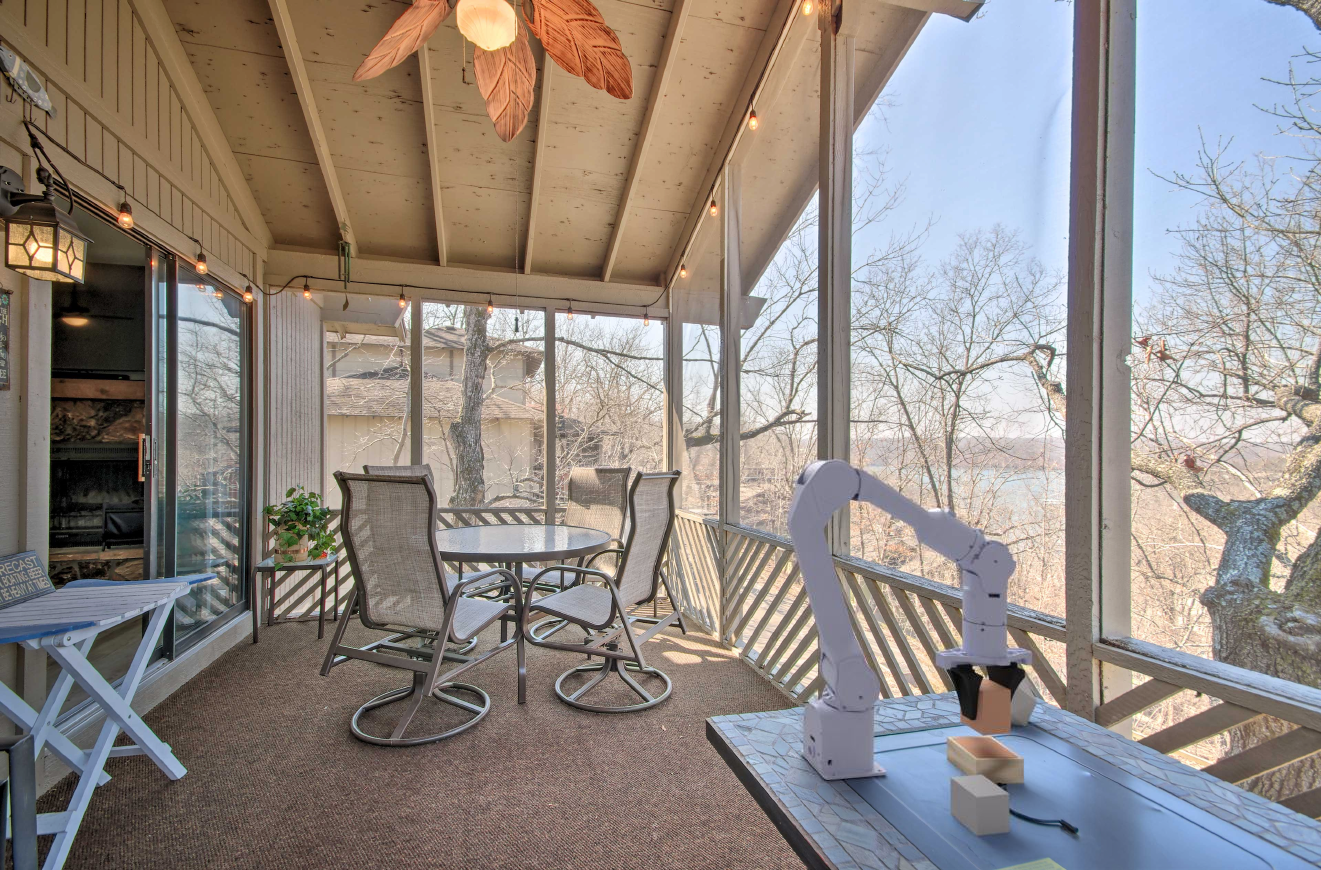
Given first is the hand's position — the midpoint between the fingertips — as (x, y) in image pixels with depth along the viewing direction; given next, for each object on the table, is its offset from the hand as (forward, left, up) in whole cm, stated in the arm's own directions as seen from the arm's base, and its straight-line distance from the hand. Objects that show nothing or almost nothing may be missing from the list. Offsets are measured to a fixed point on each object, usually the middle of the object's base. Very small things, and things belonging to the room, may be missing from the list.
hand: (984, 716), depth 86 cm
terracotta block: (0, 0, -2) cm, 2 cm away
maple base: (0, 0, -8) cm, 8 cm away
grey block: (-10, -11, -8) cm, 17 cm away
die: (+17, +15, -8) cm, 24 cm away
